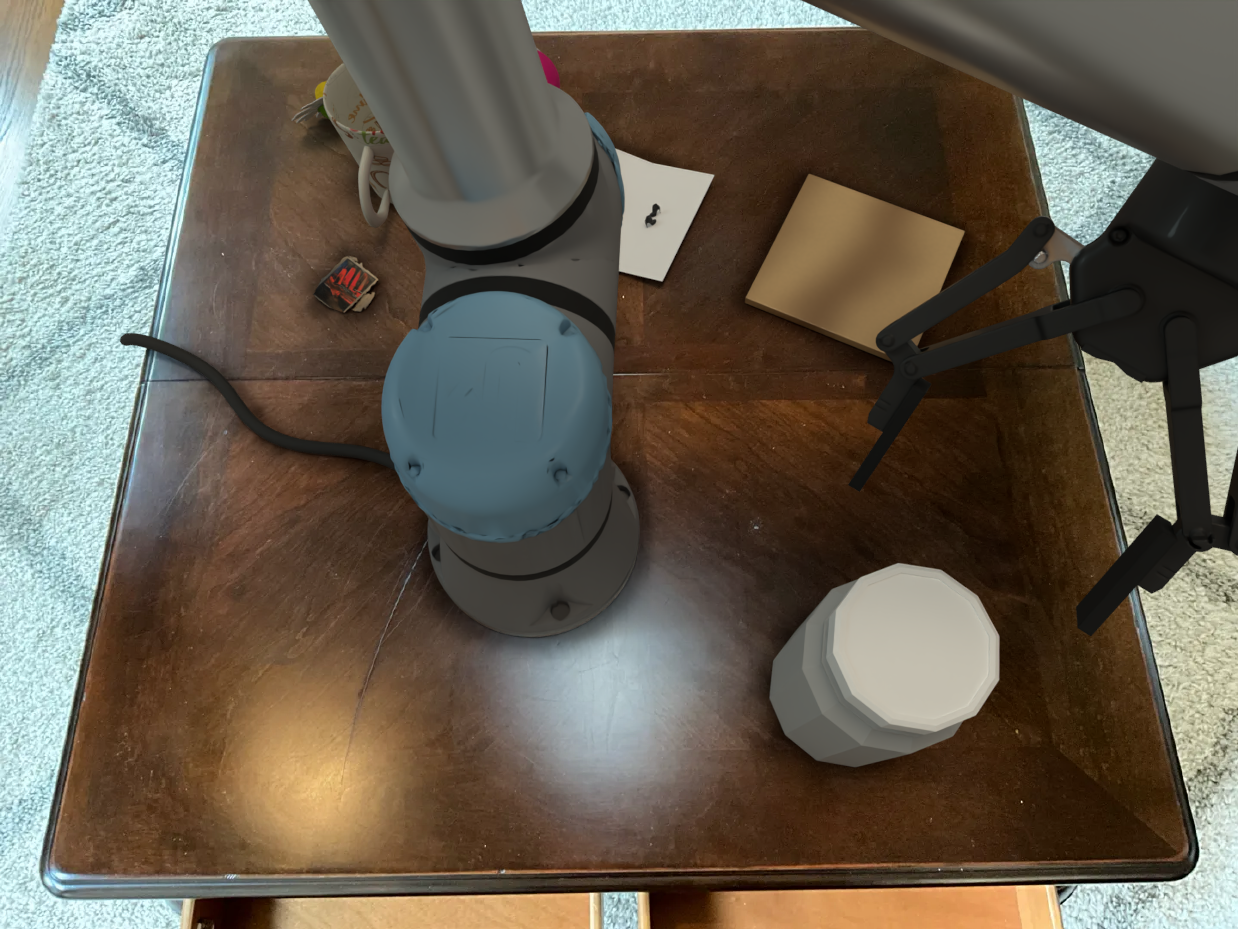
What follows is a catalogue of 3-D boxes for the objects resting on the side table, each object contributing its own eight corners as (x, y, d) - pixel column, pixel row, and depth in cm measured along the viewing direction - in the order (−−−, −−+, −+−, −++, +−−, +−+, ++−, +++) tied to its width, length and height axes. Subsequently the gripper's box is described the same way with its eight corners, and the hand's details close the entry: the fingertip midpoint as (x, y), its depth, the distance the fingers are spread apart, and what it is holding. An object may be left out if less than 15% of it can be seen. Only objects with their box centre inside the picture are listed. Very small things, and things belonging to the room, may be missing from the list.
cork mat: (744, 302, 72) (745, 297, 71) (807, 179, 77) (808, 172, 76) (907, 368, 70) (910, 363, 69) (962, 236, 74) (965, 230, 74)
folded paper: (661, 289, 73) (662, 275, 71) (529, 241, 75) (527, 226, 73) (714, 181, 77) (716, 166, 75) (587, 139, 79) (586, 122, 77)
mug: (460, 143, 79) (438, 53, 70) (437, 261, 74) (409, 180, 65) (369, 137, 79) (334, 47, 70) (340, 254, 74) (298, 173, 65)
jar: (756, 629, 62) (802, 558, 45) (892, 616, 62) (989, 540, 46) (778, 775, 58) (838, 756, 42) (924, 760, 59) (1041, 736, 42)
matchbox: (309, 300, 73) (308, 297, 72) (341, 253, 74) (340, 249, 74) (359, 320, 72) (357, 317, 71) (390, 271, 74) (388, 268, 73)
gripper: (1504, 314, 39) (1176, 652, 48) (993, 70, 45) (789, 414, 54) (1596, 338, 33) (1196, 723, 42) (984, 48, 38) (753, 444, 48)
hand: (966, 550), depth 48 cm, fingers open, 13 cm apart
